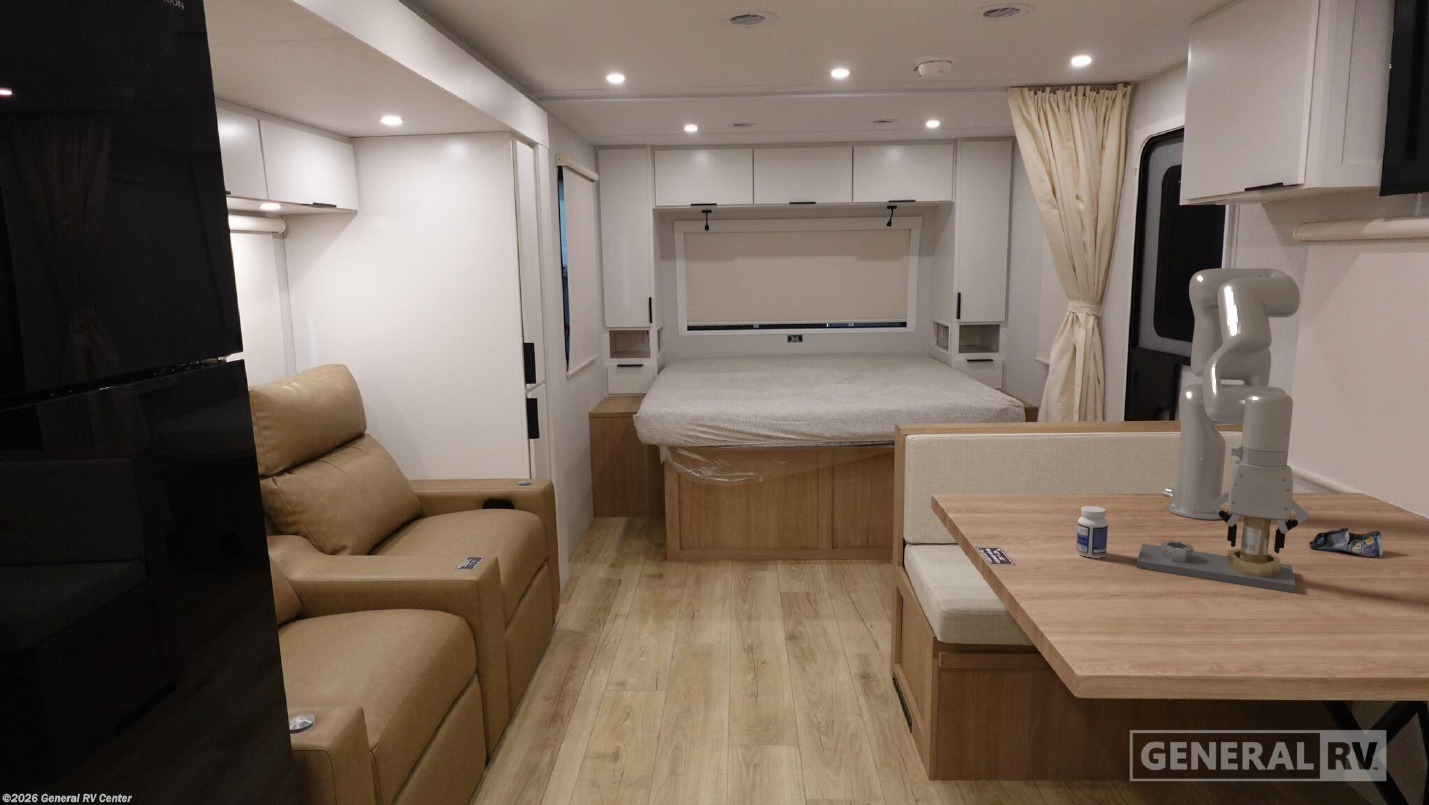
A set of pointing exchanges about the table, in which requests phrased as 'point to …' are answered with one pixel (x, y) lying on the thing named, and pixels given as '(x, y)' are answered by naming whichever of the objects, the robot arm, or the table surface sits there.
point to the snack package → (1349, 542)
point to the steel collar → (1176, 551)
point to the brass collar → (1253, 565)
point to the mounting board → (1213, 569)
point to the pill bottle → (1092, 532)
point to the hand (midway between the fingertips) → (1254, 547)
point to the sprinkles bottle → (1255, 539)
